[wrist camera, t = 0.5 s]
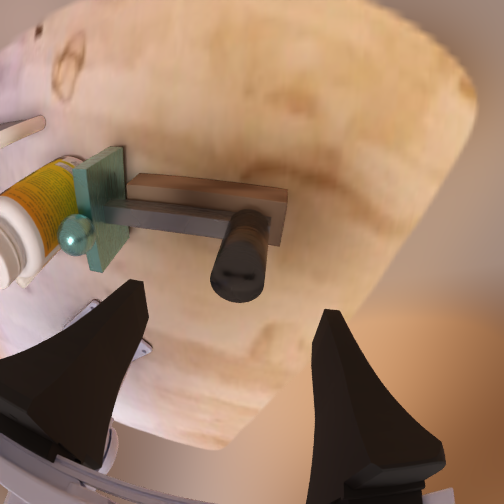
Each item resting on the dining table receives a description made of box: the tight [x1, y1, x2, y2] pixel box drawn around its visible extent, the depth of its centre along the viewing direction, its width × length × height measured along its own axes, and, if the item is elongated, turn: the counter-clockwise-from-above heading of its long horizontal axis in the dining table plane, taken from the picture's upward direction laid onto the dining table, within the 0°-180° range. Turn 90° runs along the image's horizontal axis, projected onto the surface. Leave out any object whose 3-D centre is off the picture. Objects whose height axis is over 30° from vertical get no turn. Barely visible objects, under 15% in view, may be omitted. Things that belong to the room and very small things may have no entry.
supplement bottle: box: [0, 156, 83, 289], centre depth 16 cm, size 6×6×10 cm
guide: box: [126, 173, 287, 246], centre depth 20 cm, size 10×3×2 cm, turn 84°
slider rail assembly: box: [57, 147, 271, 303], centre depth 17 cm, size 12×7×8 cm, turn 84°
